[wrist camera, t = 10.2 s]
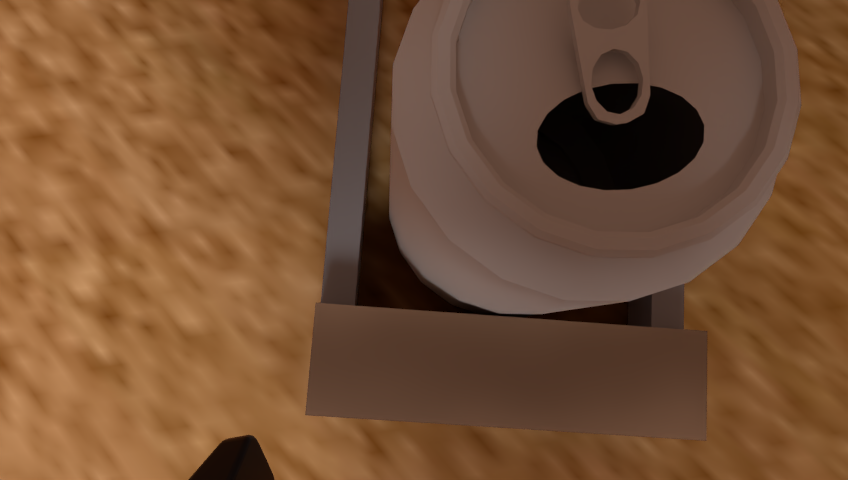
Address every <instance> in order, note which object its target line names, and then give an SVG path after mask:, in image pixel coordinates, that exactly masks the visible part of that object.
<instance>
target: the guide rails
mask: <svg viewBox="0 0 848 480" xmlns="http://www.w3.org/2000/svg"><path fill="white" fill-rule="evenodd" d="M382 7H383V0H349V2H348V13H347V24H346V35H345V46H344V57H343V68H342V79H341V89H340V100H339V111H338V122H337V133H336V144H335V155H334V166H333V177H332V188H331V199H330V210H329V220H328V231H327V242H326V253H325V264H324V275H323V286H322V297H321V303H326V304H339V305H353V306H357V305H358V293H359V282H360V270H361V258H362V246H363V234H364V222H365V210H366V198H367V186H368V174H369V162H370V150H371V138H372V126H373V114H374V102H375V90H376V78H377V66H378V54H379V43H380V31H381V19H382ZM628 325H630V326H643V327H657V328H671V329H684V284H681V285H678V286H675V287H672V288H669V289H666V290H663V291H660V292H656V293H653V294H650V295H647V296H644V297H641V298H638V299H635V300H632V301H628Z"/></svg>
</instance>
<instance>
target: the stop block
mask: <svg viewBox="0 0 848 480" xmlns="http://www.w3.org/2000/svg"><path fill="white" fill-rule="evenodd" d="M305 415H312V416H327V417H343V418H359V419H374V420H390V421H406V422H421V423H437V424H453V425H468V426H484V427H500V428H515V429H531V430H547V431H562V432H578V433H594V434H609V435H625V436H641V437H656V438H672V439H687V440H703V441H706V419H707V331H699V330H685V329H671V328H657V327H643V326H630V325H616V324H602V323H588V322H574V321H560V320H547V319H533V318H519V317H505V316H491V315H478V314H464V313H450V312H436V311H422V310H408V309H395V308H381V307H367V306H353V305H339V304H326V303H316V306H315V317H314V327H313V338H312V349H311V360H310V370H309V381H308V392H307V403H306V414H305Z"/></svg>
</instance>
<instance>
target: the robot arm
mask: <svg viewBox="0 0 848 480" xmlns="http://www.w3.org/2000/svg"><path fill="white" fill-rule="evenodd" d="M189 480H274V476H273V473H272V471H271V469H270V467H269V464H268V462H267V460H266V458H265V456H264V454H263V451H262V449H261V447H260V445H259V443H258V441H257V439H256V438H255V437H254V436H251V435H245V436H240V437H234V438H229V439H226V440H224V441H222V442H221V443H220V444H219V445H218V446H217V448H216V449H215V450H214V451H213V452H212V453H211V454H210V456H209V457H208V458H207V459H206V460H205V461H204V462H203V464H202V465H201V466H200V467H199V468H198V469H197V471H196V472H195V473H194V474H193V475H192V476H191V477H190V479H189Z"/></svg>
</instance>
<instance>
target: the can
mask: <svg viewBox="0 0 848 480" xmlns="http://www.w3.org/2000/svg"><path fill="white" fill-rule="evenodd" d="M800 108H801V94H800V80H799V67H798V53H797V47H796V45H795V42H794V40H793V37H792V35H791V33H790V30H789V28H788V25H787V23H786V20H785V18H784V15H783V13H782V10H781V8H780V5H779V3H778V0H420V1H419V2H418V3H417V5H416V6H415V7H414V8H413V11H412V13H411V16H410V19H409V22H408V24H407V27H406V30H405V33H404V35H403V38H402V41H401V44H400V46H399V49H398V52H397V55H396V57H395V60H394V63H393V78H392V115H391V151H390V191H389V219H390V222H391V225H392V229H393V232H394V235H395V238H396V242H397V245H398V248H399V251H400V253H401V255H402V256H403V257H404V259H405V260H406V262H407V263H408V264H409V266H410V267H411V269H412V270H413V272H414V273H415V274H416V276H417V277H418V279H419V280H420V281H421V283H423V284H424V285H425V286H427V287H428V288H429V289H431V290H432V291H433V292H435V293H436V294H437V295H439V296H440V297H442V298H443V299H444V300H446V301H447V302H448V303H450V304H451V305H454V306H457V307H460V308H463V309H466V310H469V311H472V312H474V313H477V314H480V315H491V316H505V317H525V316H531V315H538V314H545V313H552V312H559V311H566V310H573V309H580V308H586V307H593V306H600V305H607V304H614V303H621V302H628V301H632V300H635V299H638V298H641V297H644V296H647V295H650V294H653V293H656V292H660V291H663V290H666V289H669V288H672V287H675V286H678V285H681V284H684V283H688V282H690V281H691V280H693V279H694V278H695V277H697V276H698V275H699V274H701V273H702V272H703V271H704V270H706V269H707V268H708V267H710V266H711V265H712V264H714V263H715V262H716V261H718V260H719V259H720V258H722V257H723V256H724V255H726V254H727V253H728V252H730V251H731V250H732V249H734V248H735V247H736V246H738V245H739V243H740V242H741V240H742V239H743V237H744V236H745V234H746V233H747V231H748V230H749V228H750V227H751V225H752V224H753V222H754V221H755V219H756V218H757V216H758V215H759V213H760V212H761V210H762V209H763V207H764V206H765V204H766V203H767V201H768V200H769V198H770V197H771V195H772V191H773V188H774V184H775V180H776V176H777V174H778V172H779V171H780V169H781V168H782V166H783V165H784V163H785V162H786V160H787V159H788V155H789V151H790V147H791V143H792V139H793V136H794V132H795V128H796V124H797V120H798V116H799V112H800Z"/></svg>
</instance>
